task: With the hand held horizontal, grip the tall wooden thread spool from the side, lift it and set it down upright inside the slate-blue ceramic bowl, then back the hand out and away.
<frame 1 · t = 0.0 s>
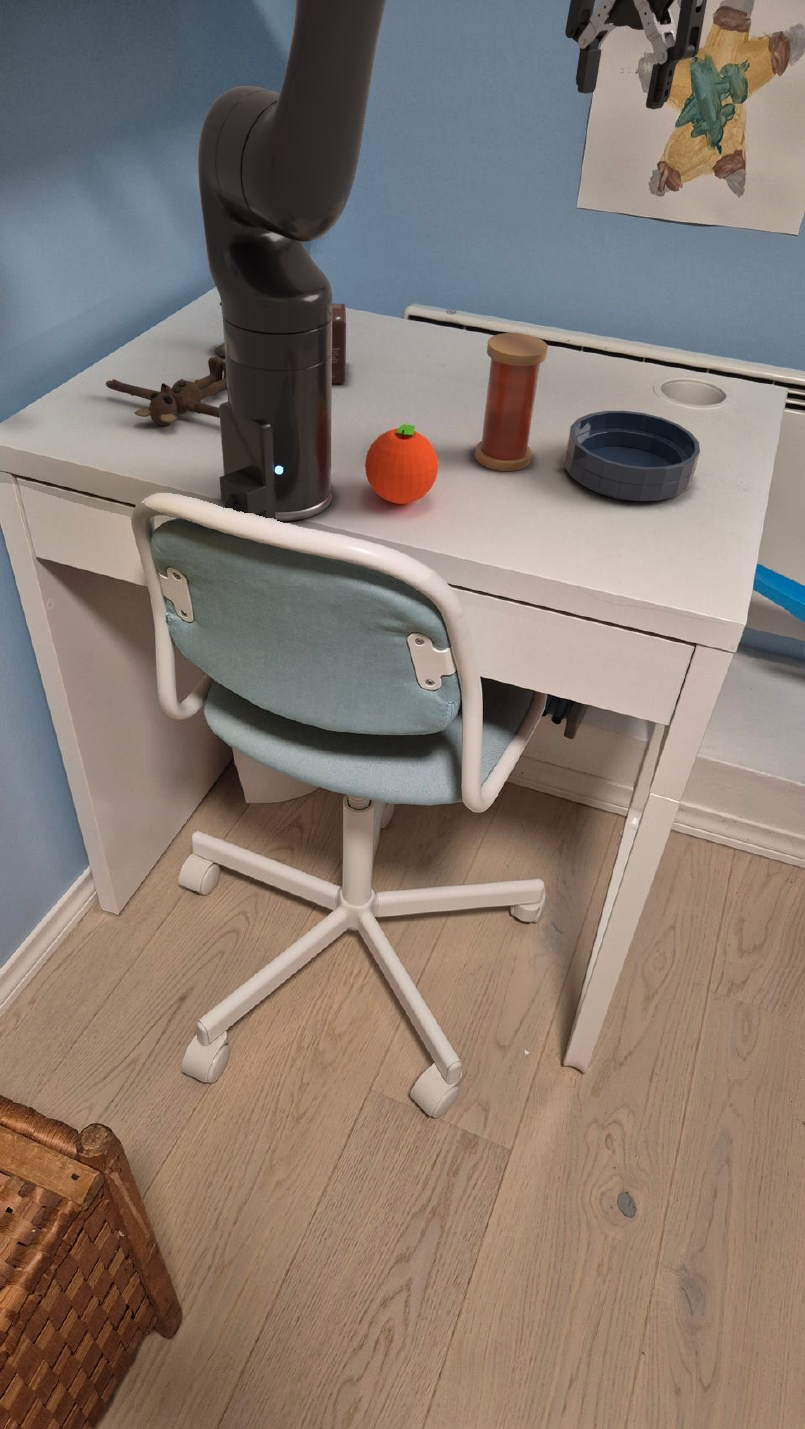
hand: (619, 100, 99), 29 cm above the table, tool pointing down, fingers open, 8 cm apart
spool: (502, 458, 102), on the table
bowl: (626, 474, 101), on the table
bear figurine: (191, 407, 108), on the table
box: (320, 376, 116), on the table
clementine: (400, 498, 95), on the table
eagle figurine: (254, 353, 120), on the table
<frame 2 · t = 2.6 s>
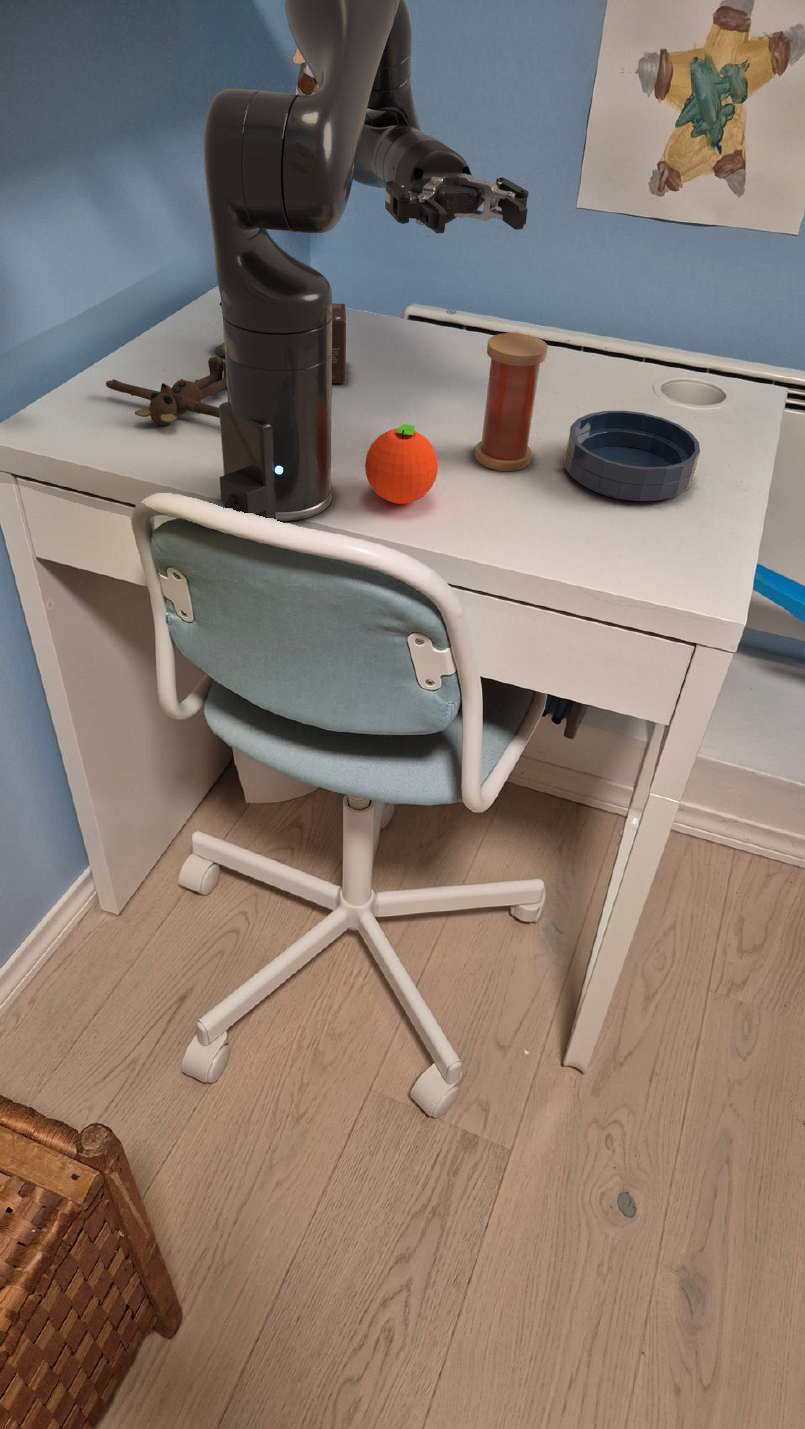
hand: (482, 220, 97), 20 cm above the table, tool horizontal, fingers open, 8 cm apart
nothing on the table moved.
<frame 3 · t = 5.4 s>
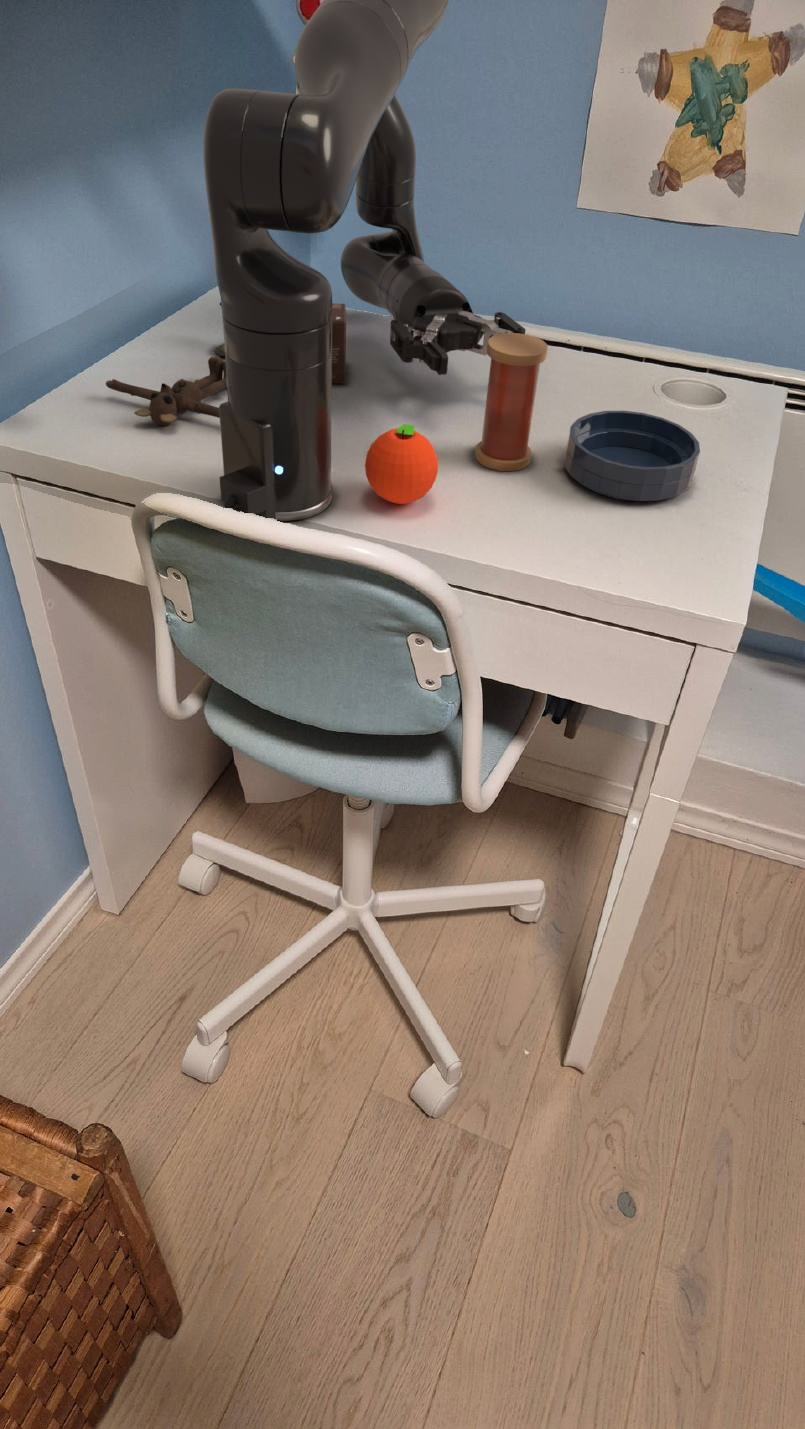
hand: (482, 362, 103), 7 cm above the table, tool horizontal, fingers open, 8 cm apart
nothing on the table moved.
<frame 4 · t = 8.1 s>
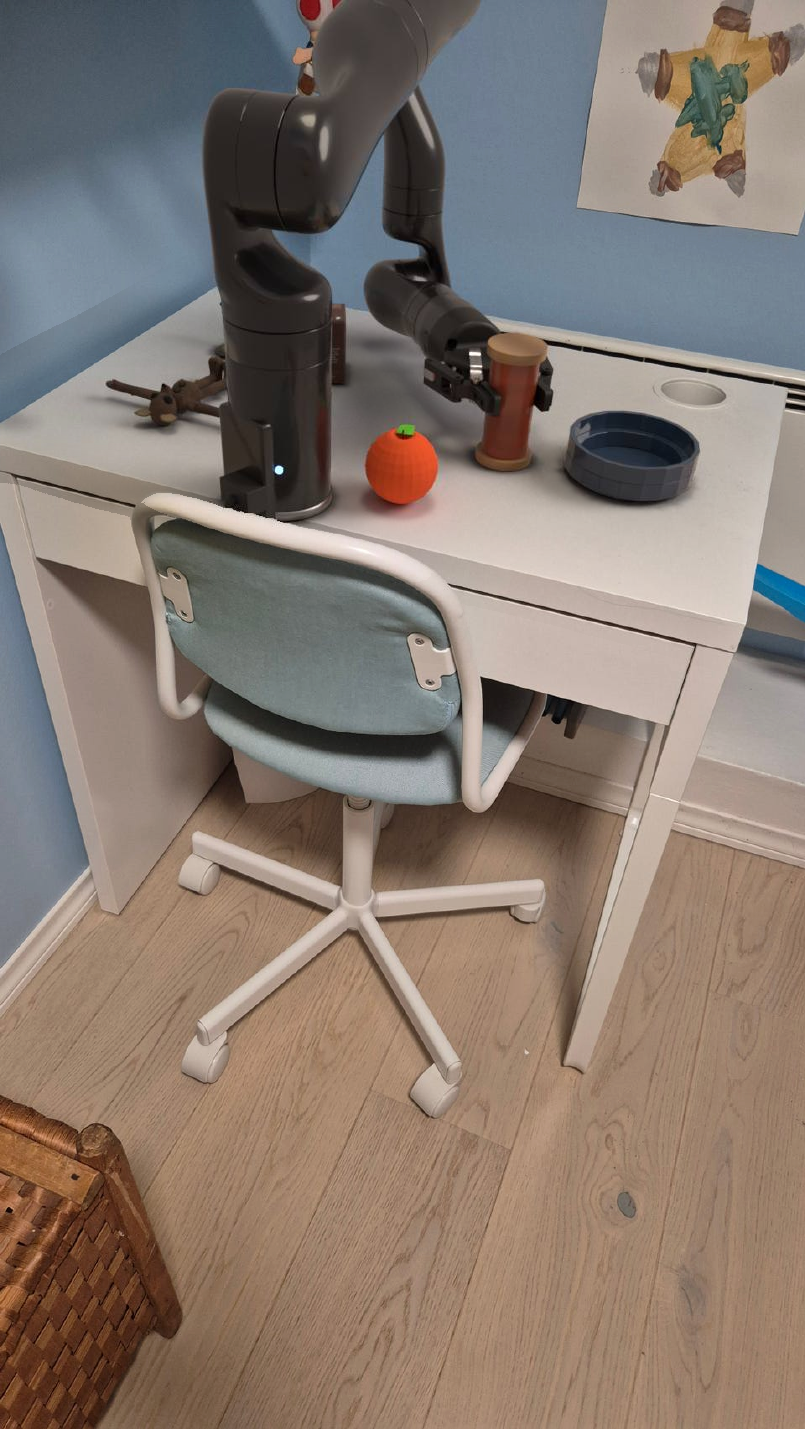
hand: (522, 405, 96), 7 cm above the table, tool horizontal, fingers closed on spool, 4 cm apart
spool: (502, 458, 102), on the table, touching gripper
everything else where it was.
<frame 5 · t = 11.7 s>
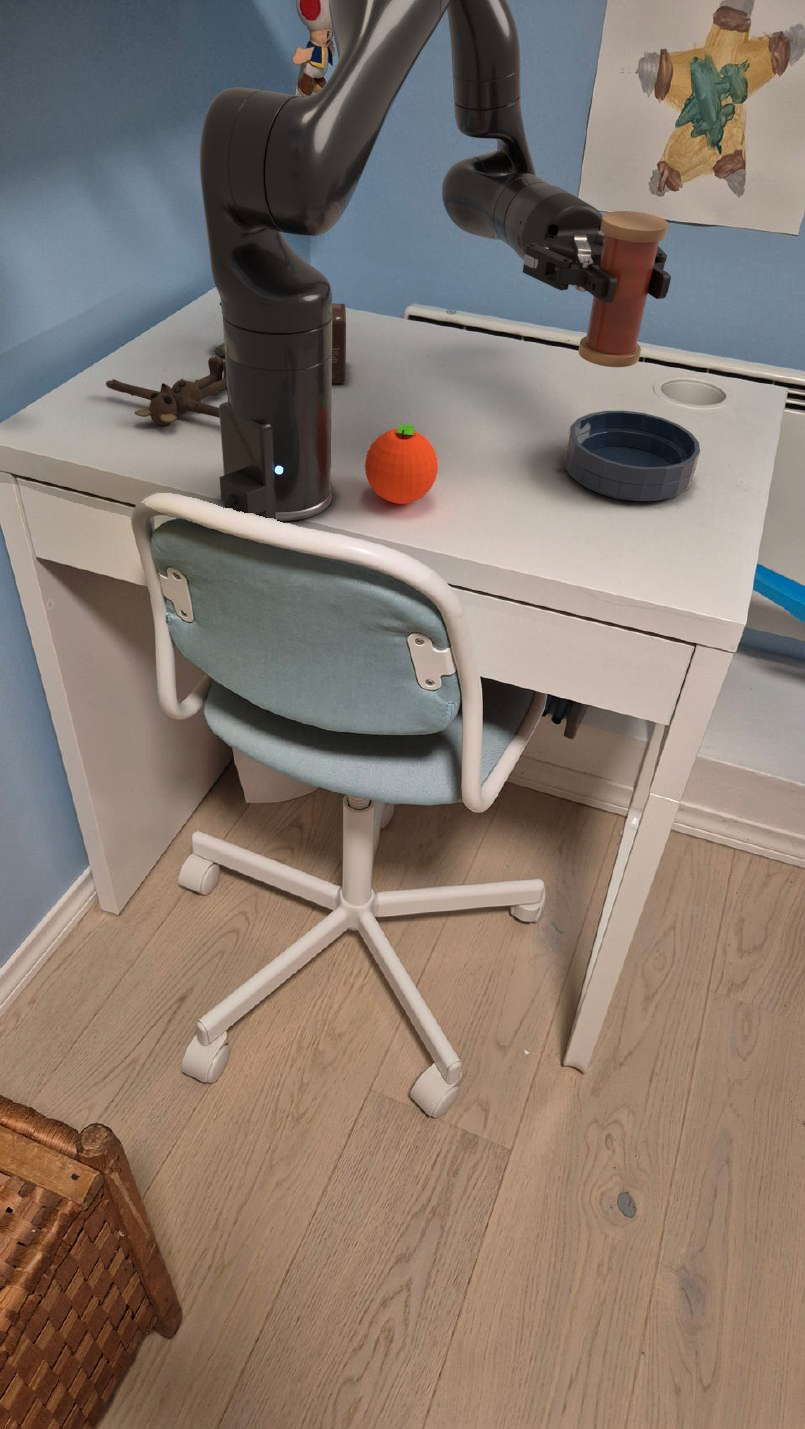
hand: (638, 289, 87), 19 cm above the table, tool horizontal, fingers closed on spool, 4 cm apart
spool: (608, 355, 94), point 12 cm above the table, touching gripper
everything else where it was.
when the fingers open (8 cm above the table, at t = 15.8 s): spool stays where it is, resting on bowl.
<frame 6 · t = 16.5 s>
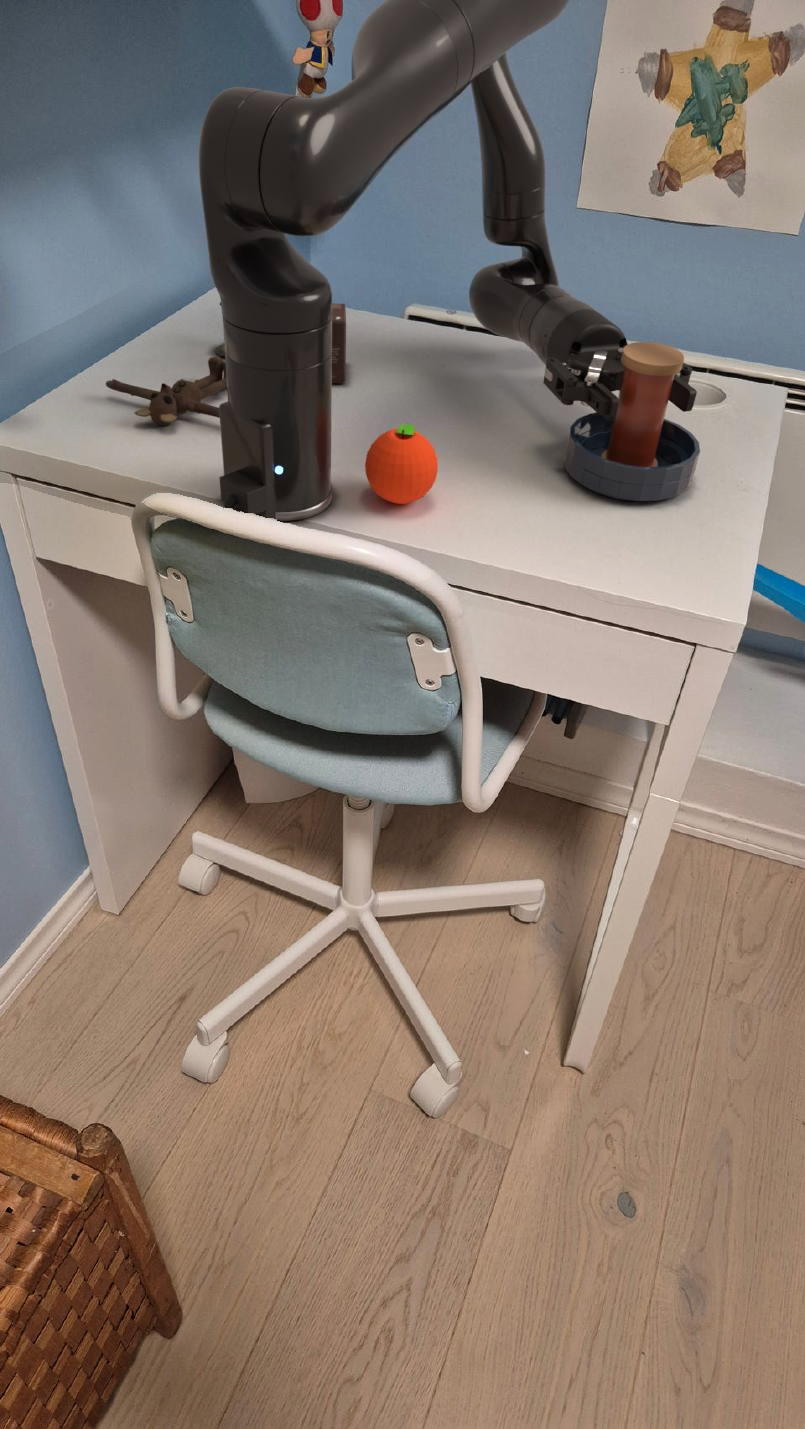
hand: (653, 406, 94), 8 cm above the table, tool horizontal, fingers open, 8 cm apart
spool: (627, 468, 101), point 1 cm above the table, touching bowl
everything else where it was.
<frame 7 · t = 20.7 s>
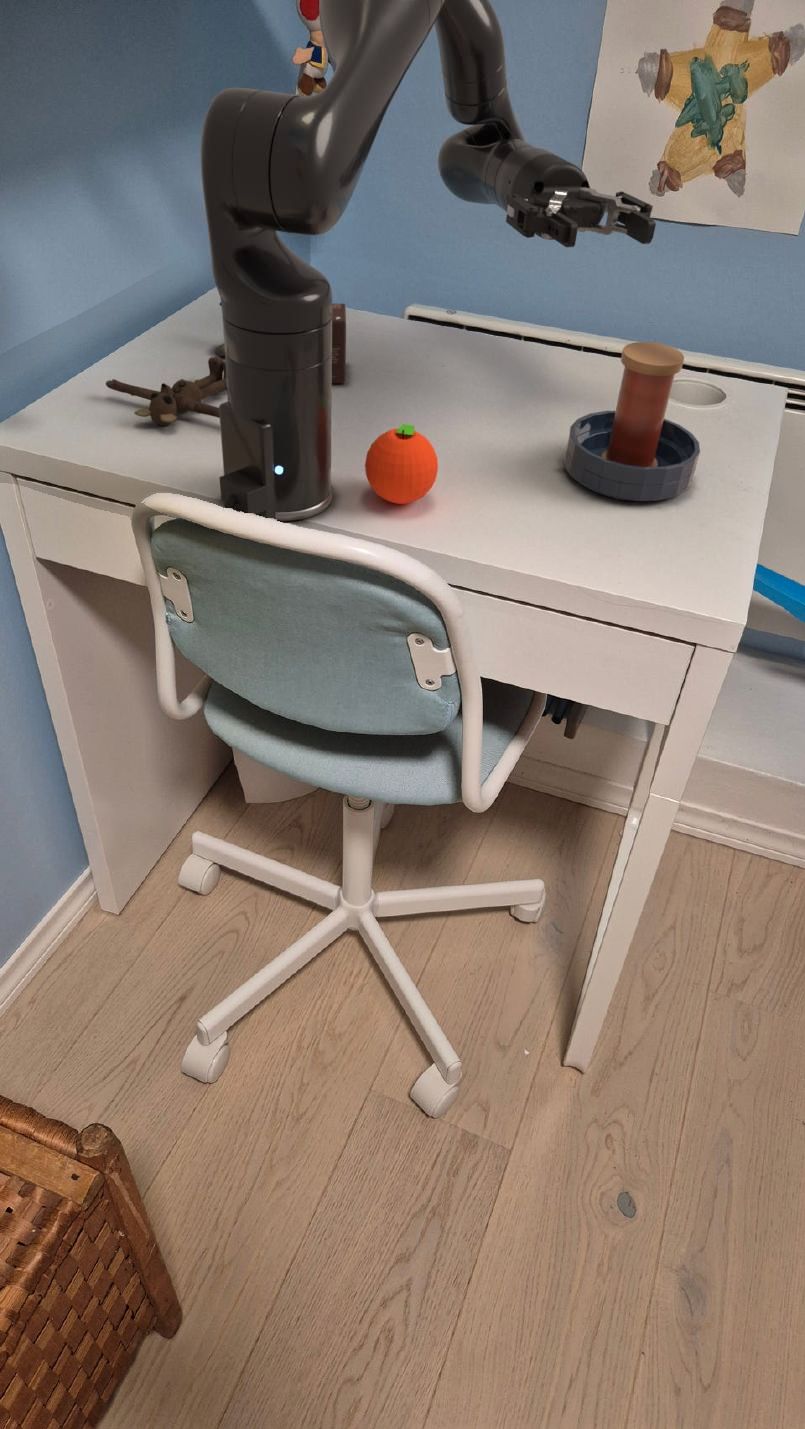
hand: (612, 235, 96), 20 cm above the table, tool horizontal, fingers open, 8 cm apart
nothing on the table moved.
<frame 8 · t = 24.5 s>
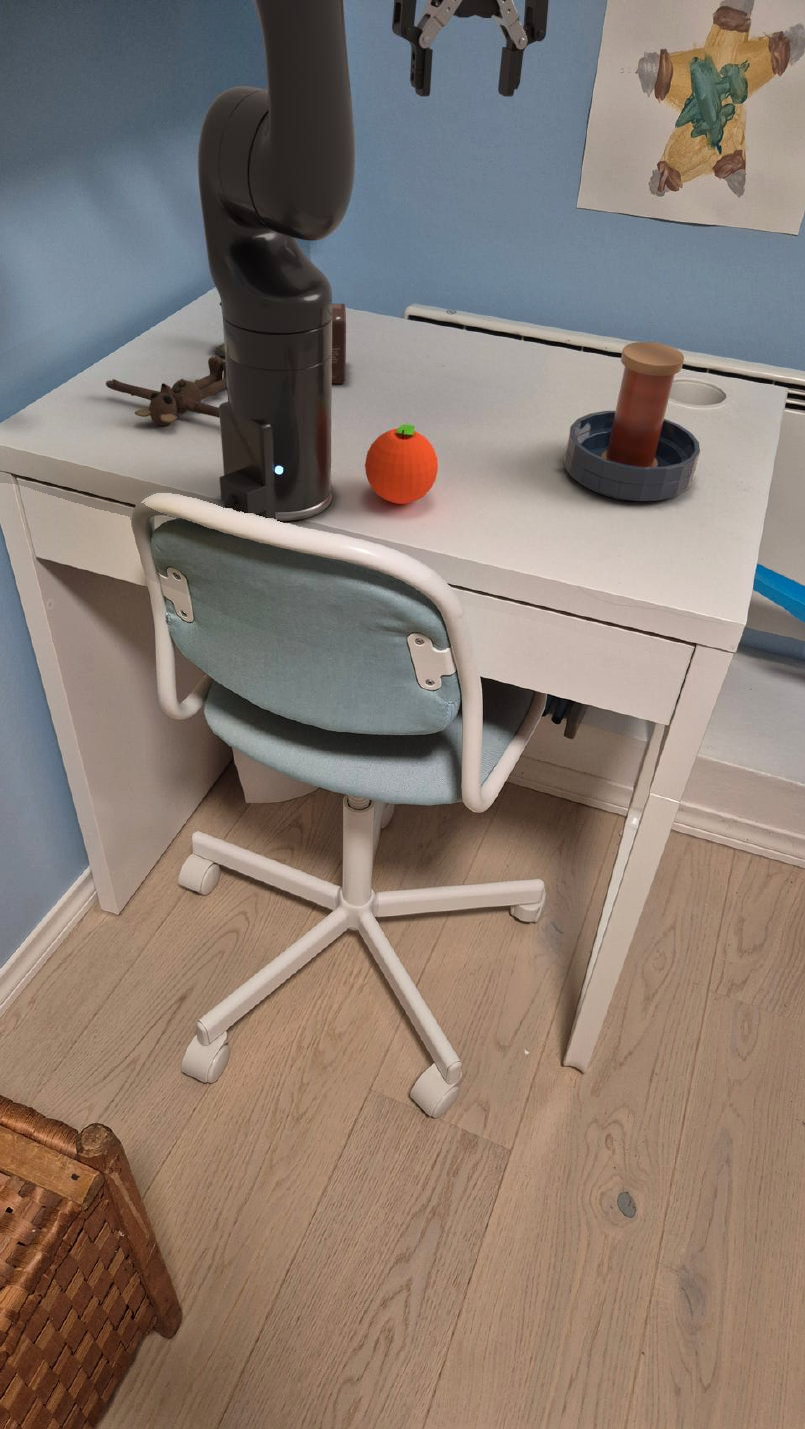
hand: (464, 95, 92), 30 cm above the table, tool pointing down, fingers open, 8 cm apart
nothing on the table moved.
at the end: spool inside the target area in the bowl (0.1 cm from its centre), point 0.6 cm above the bowl's base; spool tilted 0°; the gripper is holding nothing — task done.
